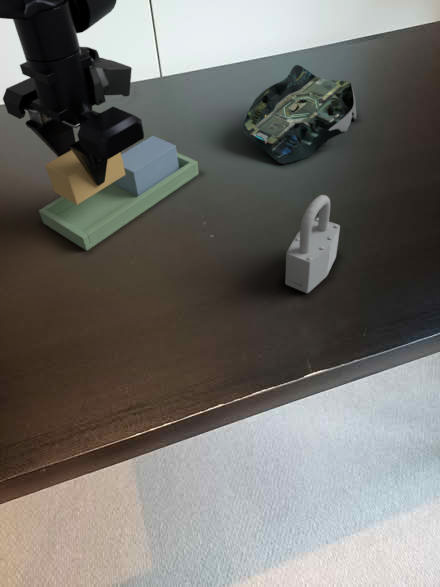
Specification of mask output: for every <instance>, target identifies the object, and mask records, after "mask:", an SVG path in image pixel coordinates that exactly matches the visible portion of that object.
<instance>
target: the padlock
mask: <svg viewBox="0 0 440 587" xmlns="http://www.w3.org/2000/svg"><path fill="white" fill-rule="evenodd" d="M317 214H318V217H317ZM330 214H331V199H330V197H328V195H324V194H320V195H318V196H316V197H315V198H314V199H313V200H312V201H311V203H310V204H309V205H308V207H307V208H306V209H305V212H304V214H303V216H302V219H301V223H300V230H299V231H298V232H297V234H296V236H294V238H293V240H292V243H291V244H290V246H289V248H288V250H287V251H286V253H285V254H286V256H285V279H284V281H285V283H284V284H285V285H286V286H288V287H290V288H293V289H295V290H298V291H300V292H302V293H305V294H309V293H310V292H312V290H314V289H315V288H316V287H317V286H318V285H319V284H321V282H322V281H324V279H326V278H327V277H328V275H329V273H330V271H331V269H332V266H333V264H334V262H335V260H336V258H337V252H338V245H339V239H340V238H339V237H340V232H341V230H340V229H341V226H340V224H337V223H335V222H332V221H330Z"/></svg>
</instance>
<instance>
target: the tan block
mask: <svg viewBox="0 0 440 587" xmlns="http://www.w3.org/2000/svg"><path fill="white" fill-rule="evenodd" d="M121 154H122V152H120V153H118V154H117V155H115V156H113V157H111V158H110V159H108V161H107V169H106V176H105V182H104V183H103V184H101V185H99V186H98V185H96V184H95V183H94V181H93V180H92V179H91V177H90V176H89V174H88V173H87V171H86V170H85V169H84V167H83V166H82V164H81V163H80V161H79V160H78V158H77V157H76V156H75V154H74V153H73V151H72V150H71V151H69V152H67V153H65V154H64V155H62V156H60V157H58V156H57V157H56V158H55V159H53V160H51V161H49V162H48V163H45V164H44V165H45V169H46V171H47V174H48V177H49V180H50V183H51V185H52V186H51V187H52V189H53V192H54V193H56V194H57V195H59V196H60V197H64V198H66V199H67V200H69V201H71V202H73V203H74V204H76V205H78V204H79V203H81V202H83V201H84V200H86V199H87V198H89V197H91V196H92V195H94V194H95V193H97V192H99V191H100V190H102V189H104V188H105V187H107V186H108V185H110V184H112V183H113V182H115V181H116V180H118V179H120V178H121V177H123V176H124V175H126V174H125V170H124V165H123V161H122V156H121Z"/></svg>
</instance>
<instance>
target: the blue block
mask: <svg viewBox="0 0 440 587" xmlns="http://www.w3.org/2000/svg"><path fill="white" fill-rule="evenodd" d="M177 150H178V149H177V145H175V144H173V143H171V142H170V141H169V142H168V141H166V140H164V139H162V138H159V137H157V136H154V135H152V136H149V137H148V138H147V139H145V140H143V141H141V142H140V143H138V144H136V145H135V146H133V147H131V148H130V149H128V150H126V151H124V152H123V153H121V156H122V161H123V165H124V170H125V174H126V175H124V176H123V177H121V178H120V179H118V180H116V185H117V186H118V187H120V188H122V189H124V190H126V191H128V192H130V193H132V194H134V195H135V196H137V197H138V196H140V195H141V194H143V193H144V192H146V191H147V190H149V189H150V188H152V187H153V186H155V185H156V184H158V183H159V182H161V181H162V180H164V179H165V178H167V177H168V176H170V175H171V174H173V173H174V172H176V171H177V170H179V165H178V158H177V153H178V151H177Z"/></svg>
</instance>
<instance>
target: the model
mask: <svg viewBox="0 0 440 587" xmlns="http://www.w3.org/2000/svg"><path fill="white" fill-rule="evenodd" d="M352 119H353V120H357V106H356V96H355V92H354V89H353V86H352V82H350V81H348V80H340V79H325V78H321V77H318V76H316V75H315V74H313V73H312V72H310V71H309V70H307V69H306V68H305V67H303V66H301V65H299V64H295V65H294V66H293V67H292V69H291V70H290V72H289V74H288V75H287V76H286V77H285V78H284V79H283V80H281V81H278V82H277V83H275V84H272V85H271V86H269V87H268V88H266V89H264V90H263V91H262V92H261V93H260V94H259V95H258V96H257V97H256V98H255V99H254V101H253V102H252V104H251V105H250V108H249V110H248V111H247V114H246V117H245V118H244V122H243V128H242V133H243V134H244V135H246V136H247V137H249V139H251V140H252V141H254V143H255V144H256V145H258V146H259V148H263V149H264V151H266V152H267V154H268V155H269V156H270V157H271V158H272V159H274V160H275V161H276V162H277V163H279V164H283V165H285V164H289V163H294V162H295V161H299V160H304V159H306V158H309V157H311V156H312V155H313V154H315V153H316V152H317V151H318V150H319V149H320V148H321V147H322V146H323V145H324V144H325V143H327V142H328V141H329V140H331V139H333V138H334V137H337V136H339V135H341V134H343V133H347V132H348V130H349V127H350V125H351V122H352Z"/></svg>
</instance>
